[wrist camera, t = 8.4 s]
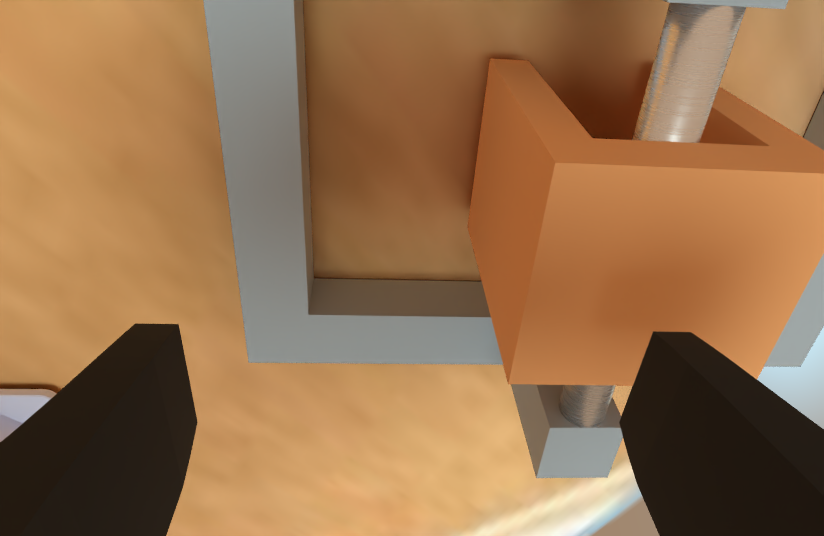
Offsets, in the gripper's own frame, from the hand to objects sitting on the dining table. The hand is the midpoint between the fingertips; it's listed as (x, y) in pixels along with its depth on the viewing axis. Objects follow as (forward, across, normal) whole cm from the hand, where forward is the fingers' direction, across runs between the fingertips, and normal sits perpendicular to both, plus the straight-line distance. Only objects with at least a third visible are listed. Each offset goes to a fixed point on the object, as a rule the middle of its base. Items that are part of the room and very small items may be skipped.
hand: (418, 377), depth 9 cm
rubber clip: (+9, -5, 0) cm, 10 cm away
